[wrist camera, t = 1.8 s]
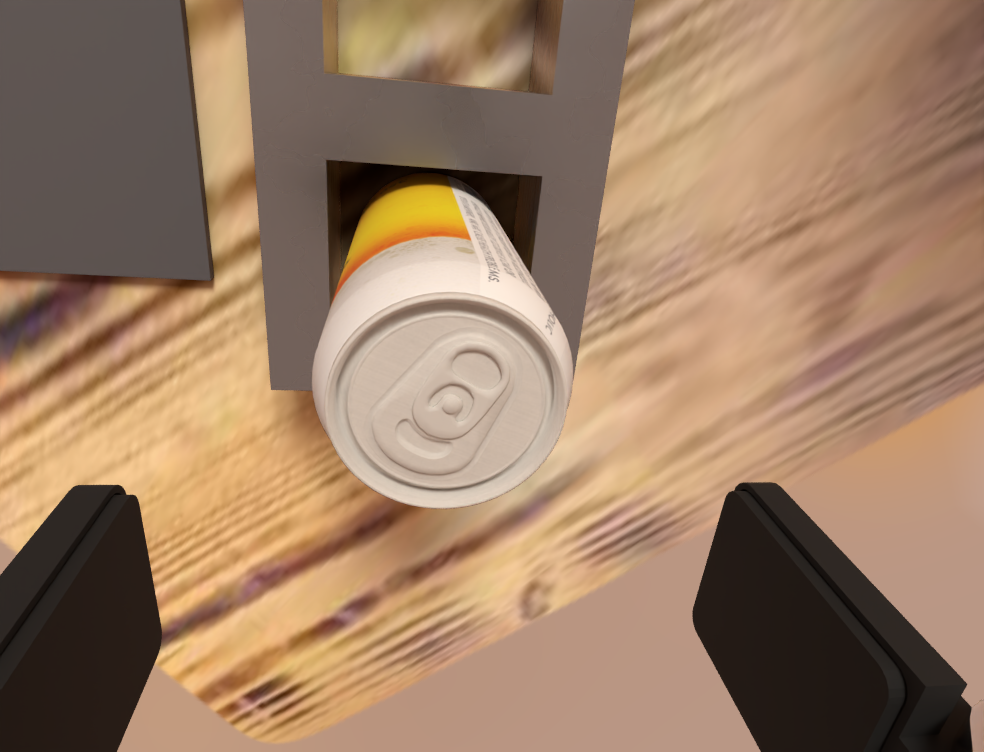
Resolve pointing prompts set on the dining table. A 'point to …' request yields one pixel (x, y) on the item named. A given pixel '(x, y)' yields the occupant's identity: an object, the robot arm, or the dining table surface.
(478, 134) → the cinder block
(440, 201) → the beer can
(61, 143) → the mat
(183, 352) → the dining table surface
